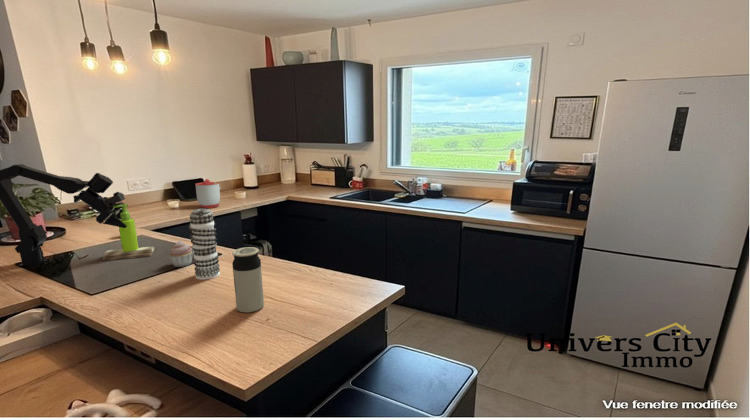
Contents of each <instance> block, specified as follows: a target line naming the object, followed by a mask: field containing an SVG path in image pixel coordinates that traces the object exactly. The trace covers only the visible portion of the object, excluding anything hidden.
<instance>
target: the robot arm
mask: <svg viewBox="0 0 750 420" xmlns="http://www.w3.org/2000/svg"><path fill="white" fill-rule="evenodd" d="M19 176H20V177H23V178H26V179H29V180H34V181H35V182H36V181H37V182H39V183H43V184H47V185H50V186H52V187H55V188H56V189H57V190H59V191H61V192H63V193H66V194H68V195H72V194H76V193H78V192H79V193H78V194H77V195H73V203H76V204H77V203H78V202H80V201H81V202H83V203H85V204H86V205H87V206H88V207H90V210H91V211H96V212H98V215H97V216H96V217H95V220H96V222H97V223H98V224H100V225H101V224H103V225H108V226H113V227H117V228H119V227H122V228H126V227H127V226H126V225H125V224H124V223H123V222H122V221H121V215H120V213H121V212H122V207H117V208H113V206H116V205H125V204H126V203H125V202H123V201H124V200H126V197H125V194H124V193H122V192H119V191H115V192H114V193H113V195H112V196H110V197H107V196H104V197H103V196H102V195H100V194H104V193H105V192H106V191H107V190H108V189H109V188H110V187H111V186H112V185H113V183H114V181H113V180H112V179H111V178H110V177H108V176H106V175H104V174H102V173H100V172H95V174H94V175H93V176H92V178H91V179H90V180H83V179H81V178H78V177H73V176H64V175H63V176H62V175H58V174H54V173H50V172H47V171H44V170H40V169H37V168H35V167H34V168H33V167H30V166H28V165H25V164H22V163H19V164H13V165H11V166H8V167H5V168H3V169H0V202H1V204H2V205H3V207H4V208H5V210H6V211H7V213H8V215H9V216H10V218H11V219H12V220H13V222H14V224H15V225H16V227H17V230H18V238H19V240H20V242H19V243H18V244H17V245H16V246H15V248H14V250H15V251H16V253H17V254H19V256H20V260H21V263H20V264H18V266H19V267H35V266H37V265H41V264H44V263H46V262H48V259H45V256H44V252H43V250H42V247H43V246H44V243H45V242H46V240H47V238H48V236H47V234H48V232H47V231H46V230H45V229H44V226H43V225H42V224H38V225H37V224H35V223H34V222H33V221H32V219H31V218H30V215H28V212H27V211H26V209H25V208H24V206H23V205H22V203H21V202H20V200H19V199H18V197H17V196H16V194H15V192H14V191H13V190H14V189H13V181H12V179H15V178H17V177H19ZM84 189H85V190H84ZM130 218H131V219H133V218H132V217H131V216H130Z"/></svg>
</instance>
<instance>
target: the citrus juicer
mask: <svg viewBox="0 0 750 420" xmlns="http://www.w3.org/2000/svg"><path fill="white" fill-rule="evenodd" d="M194 184H195V193H196V199H197V202H198V205H199V207H200V209H211V208H217V207H219V205H220V202H221V191H220V190H221V189H222V187H221V186H220V182H217V183H215V182H214V181H210V180H209V179H208V178H206V179H205V180H204V181H202V182H198V183H197V182H196V183H194Z"/></svg>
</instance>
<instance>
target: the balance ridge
mask: <svg viewBox="0 0 750 420" xmlns="http://www.w3.org/2000/svg"><path fill="white" fill-rule="evenodd" d="M155 250H157V247H155V246H145V247H138V249H137V250H135V251H129V252H124V251H123V250H122V248H121V249H110V250H109V249H108V250H106V251H105V252H104V253H103V254H104V256H103V257H102V258H101V261H102V262H105V261H115V260H116V259H117V260H126V258H128V259H135V258H137V257H139V258H148V257H152V255H153V254H154V253H155V252H156V251H155Z"/></svg>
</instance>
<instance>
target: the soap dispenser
mask: <svg viewBox="0 0 750 420" xmlns="http://www.w3.org/2000/svg"><path fill="white" fill-rule="evenodd" d="M124 204H125V205H116V206H113V208H117V207H122V212H121V213H120V215H121V219H120V220H121V221H122V222H123V223H124V224H125V225H126V226H127V227H126V228H122V227H118V232H119V231H120V232H119V236H120V243H121V249H122V250H123V251H124V252H129V251H135V250H137V249H138V248H139V243H138V237H137V230H136V223H135V218H132V217H131V213H130V211H128V210H127V209H128V208H127V207H129V204H126V203H124ZM130 217H131V218H132V219H131V218H130Z"/></svg>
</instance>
